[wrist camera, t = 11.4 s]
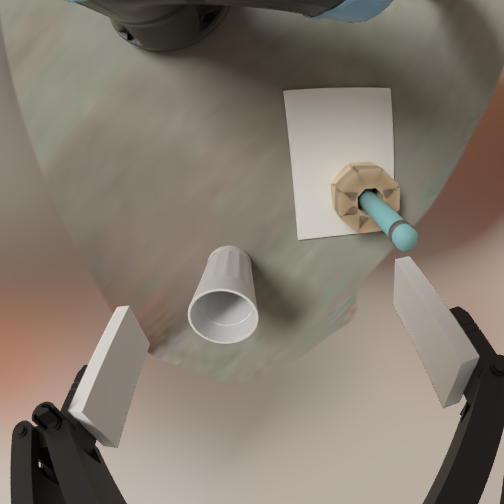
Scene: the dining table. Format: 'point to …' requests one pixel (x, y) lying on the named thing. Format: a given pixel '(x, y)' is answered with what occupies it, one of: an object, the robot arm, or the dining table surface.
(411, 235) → the teal marker pen
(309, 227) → the mat
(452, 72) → the dining table surface
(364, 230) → the bead
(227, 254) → the cup
